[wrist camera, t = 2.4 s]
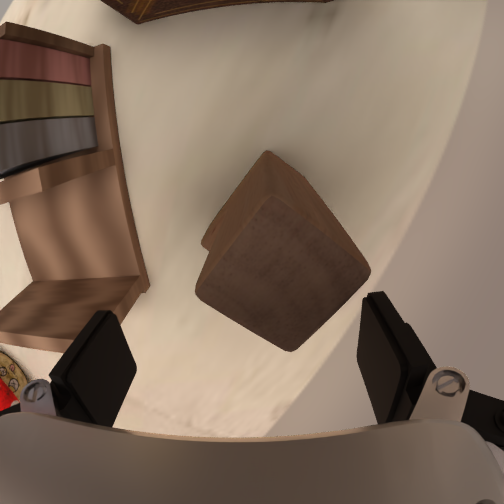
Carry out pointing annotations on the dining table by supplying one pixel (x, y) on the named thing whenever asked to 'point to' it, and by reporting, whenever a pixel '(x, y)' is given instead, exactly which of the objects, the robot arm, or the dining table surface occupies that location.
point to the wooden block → (278, 257)
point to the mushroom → (10, 382)
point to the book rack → (64, 188)
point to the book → (175, 7)
